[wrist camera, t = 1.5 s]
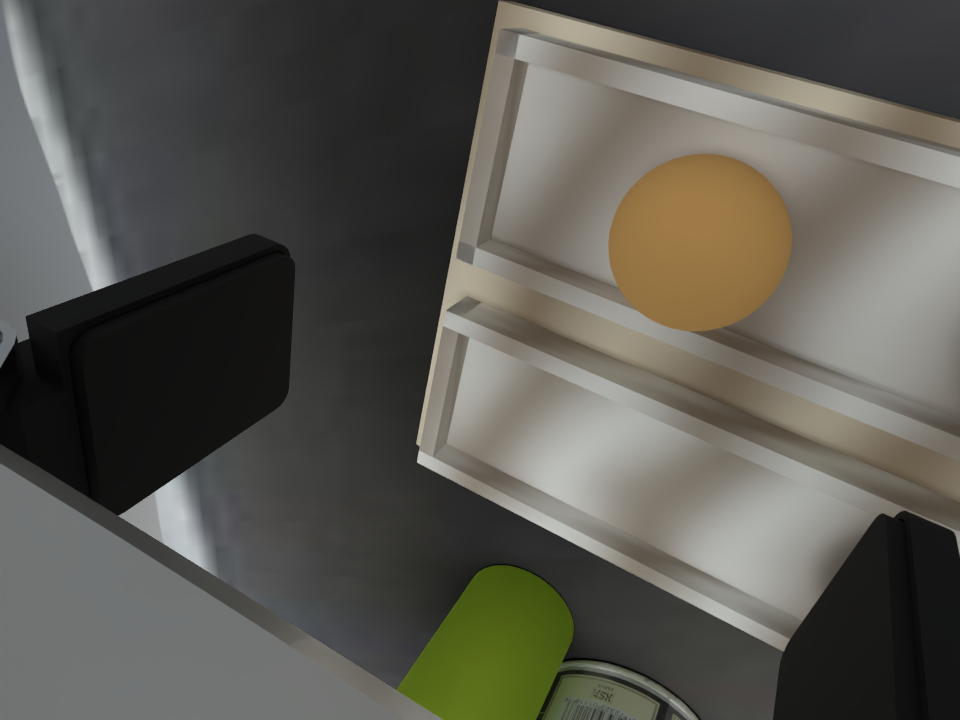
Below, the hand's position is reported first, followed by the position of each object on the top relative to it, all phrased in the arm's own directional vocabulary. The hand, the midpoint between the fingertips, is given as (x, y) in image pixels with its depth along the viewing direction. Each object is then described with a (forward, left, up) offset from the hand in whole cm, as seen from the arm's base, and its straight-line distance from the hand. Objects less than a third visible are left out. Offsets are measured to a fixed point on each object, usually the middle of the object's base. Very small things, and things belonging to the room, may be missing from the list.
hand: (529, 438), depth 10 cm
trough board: (-3, +5, -16) cm, 17 cm away
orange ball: (0, 0, -14) cm, 14 cm away
